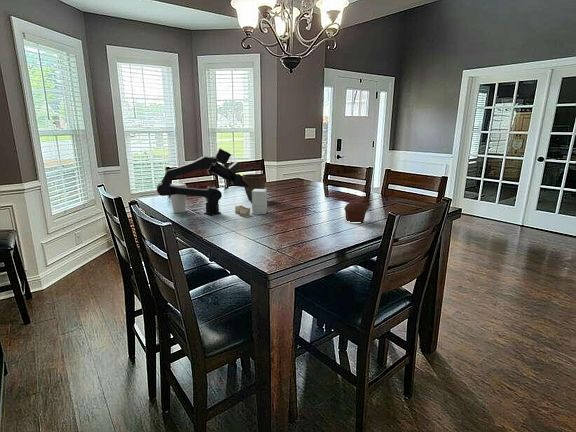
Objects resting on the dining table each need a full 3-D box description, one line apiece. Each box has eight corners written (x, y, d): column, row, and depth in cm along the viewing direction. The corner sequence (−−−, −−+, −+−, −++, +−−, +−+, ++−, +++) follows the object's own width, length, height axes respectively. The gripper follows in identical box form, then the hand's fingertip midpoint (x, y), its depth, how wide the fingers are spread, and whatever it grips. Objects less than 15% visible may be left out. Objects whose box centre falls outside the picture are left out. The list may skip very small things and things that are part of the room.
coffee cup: (166, 212, 185) (164, 184, 181) (179, 208, 193) (177, 182, 189) (179, 214, 181) (177, 186, 177) (192, 210, 189) (190, 183, 185)
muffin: (349, 225, 166) (350, 205, 163) (339, 219, 176) (340, 200, 173) (370, 223, 169) (372, 204, 166) (360, 218, 179) (361, 199, 177)
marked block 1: (239, 215, 182) (238, 207, 180) (235, 213, 185) (235, 206, 184) (245, 214, 184) (245, 206, 183) (241, 212, 187) (241, 205, 186)
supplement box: (267, 211, 190) (267, 188, 187) (265, 214, 183) (265, 191, 180) (254, 210, 191) (254, 188, 188) (251, 213, 184) (251, 190, 181)
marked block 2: (246, 217, 177) (246, 209, 176) (240, 216, 179) (239, 208, 178) (250, 215, 181) (250, 207, 180) (243, 214, 183) (243, 207, 181)
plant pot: (238, 201, 212) (238, 176, 208) (248, 197, 226) (247, 173, 222) (260, 203, 208) (260, 177, 204) (269, 198, 222) (269, 174, 218)
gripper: (233, 159, 171) (258, 174, 179) (224, 156, 188) (248, 170, 195) (223, 178, 171) (248, 193, 179) (215, 174, 188) (238, 187, 195)
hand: (246, 185), depth 187 cm, fingers open, 9 cm apart
